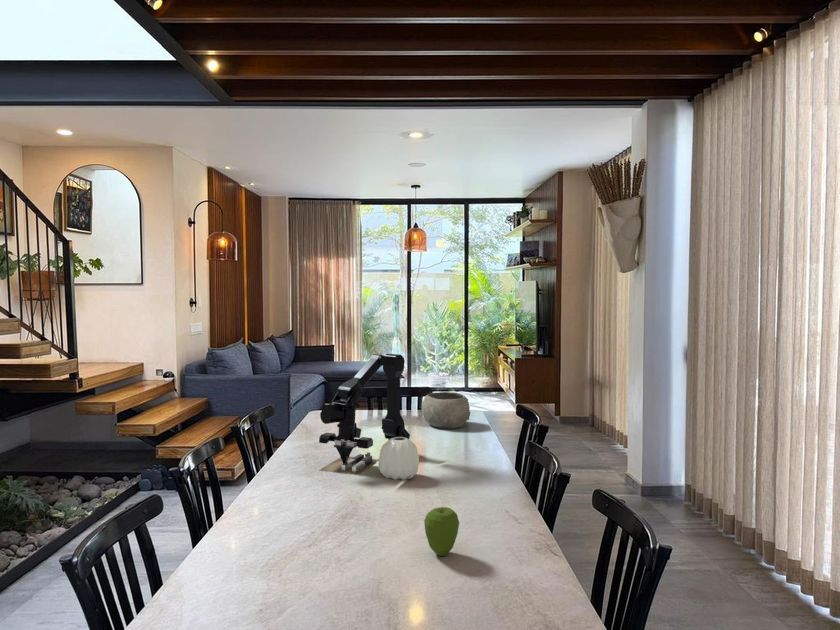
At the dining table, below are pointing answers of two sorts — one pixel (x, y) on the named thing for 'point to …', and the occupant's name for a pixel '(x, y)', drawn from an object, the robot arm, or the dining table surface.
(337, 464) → the board
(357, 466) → the tongs fixed
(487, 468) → the dining table surface
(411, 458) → the vase
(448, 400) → the bowl
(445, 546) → the apple
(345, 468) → the bar
